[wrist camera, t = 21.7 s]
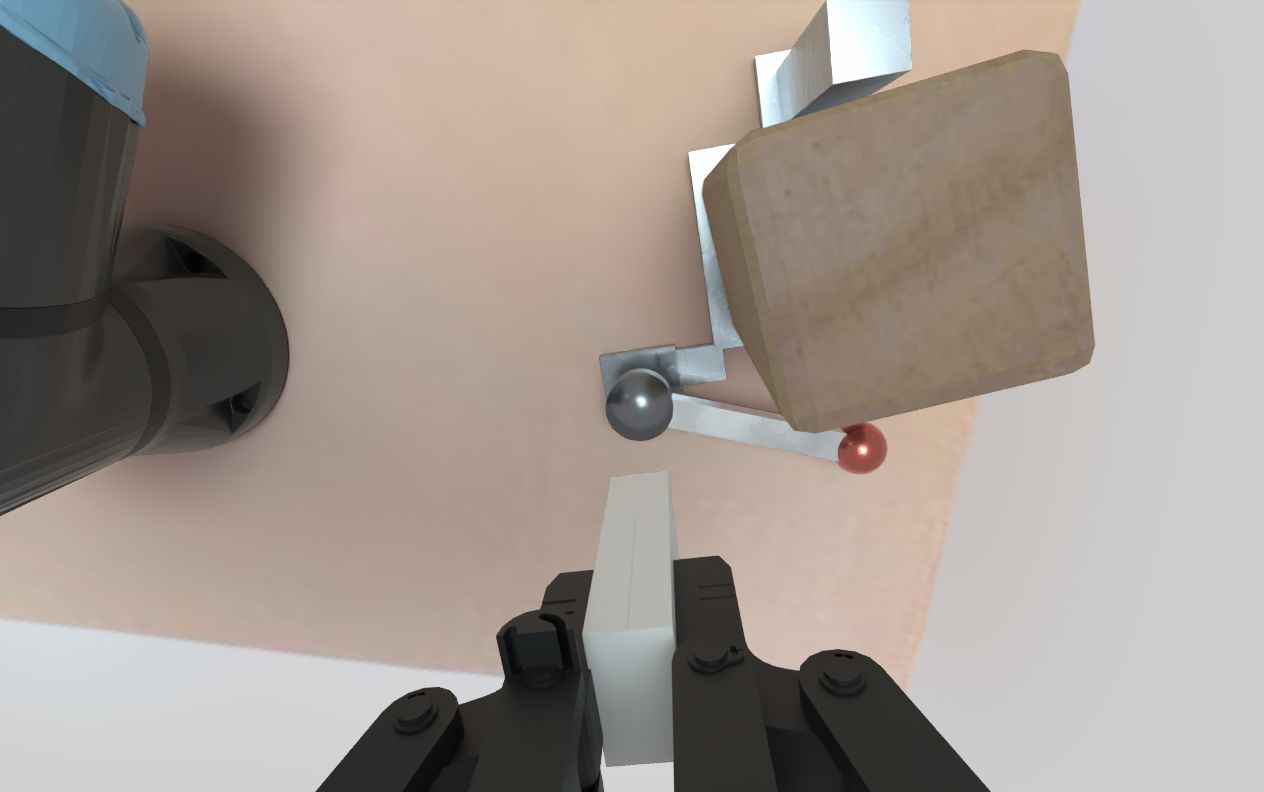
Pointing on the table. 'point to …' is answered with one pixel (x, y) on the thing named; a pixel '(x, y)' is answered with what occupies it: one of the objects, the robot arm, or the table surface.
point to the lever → (733, 423)
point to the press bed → (786, 89)
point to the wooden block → (908, 244)
